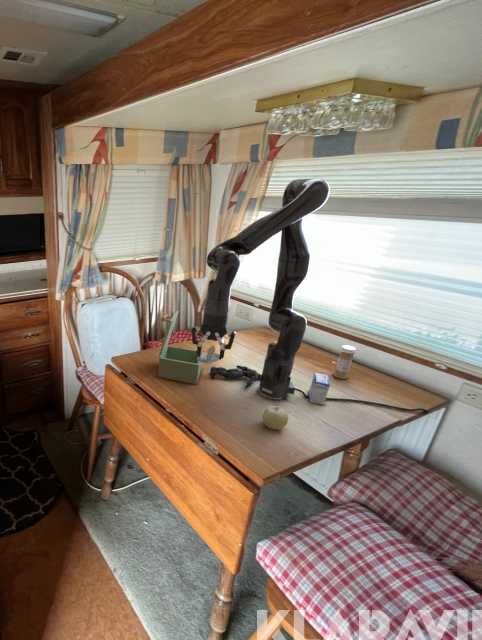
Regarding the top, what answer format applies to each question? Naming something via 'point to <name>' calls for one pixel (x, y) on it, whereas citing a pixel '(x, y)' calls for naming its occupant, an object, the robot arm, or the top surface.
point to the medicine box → (319, 388)
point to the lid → (168, 330)
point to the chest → (180, 364)
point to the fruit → (275, 417)
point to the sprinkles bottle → (344, 361)
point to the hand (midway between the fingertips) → (209, 356)
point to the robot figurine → (236, 374)
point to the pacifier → (209, 356)
